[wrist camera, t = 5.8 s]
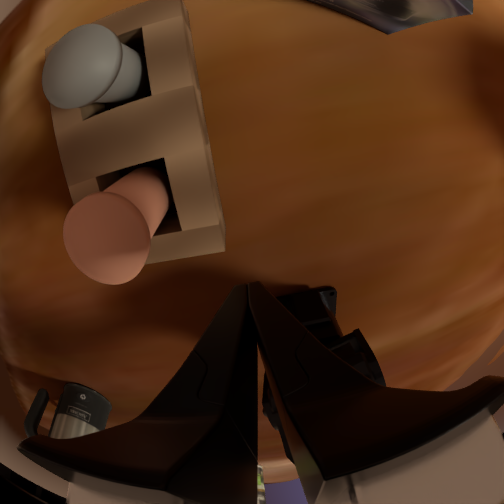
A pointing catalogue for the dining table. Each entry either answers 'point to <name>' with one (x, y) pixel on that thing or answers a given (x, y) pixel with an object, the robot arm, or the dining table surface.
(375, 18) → the small box
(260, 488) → the coffee can
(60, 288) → the dining table surface
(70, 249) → the brick plug
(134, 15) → the socket block
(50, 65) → the grey plug
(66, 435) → the milk frother
